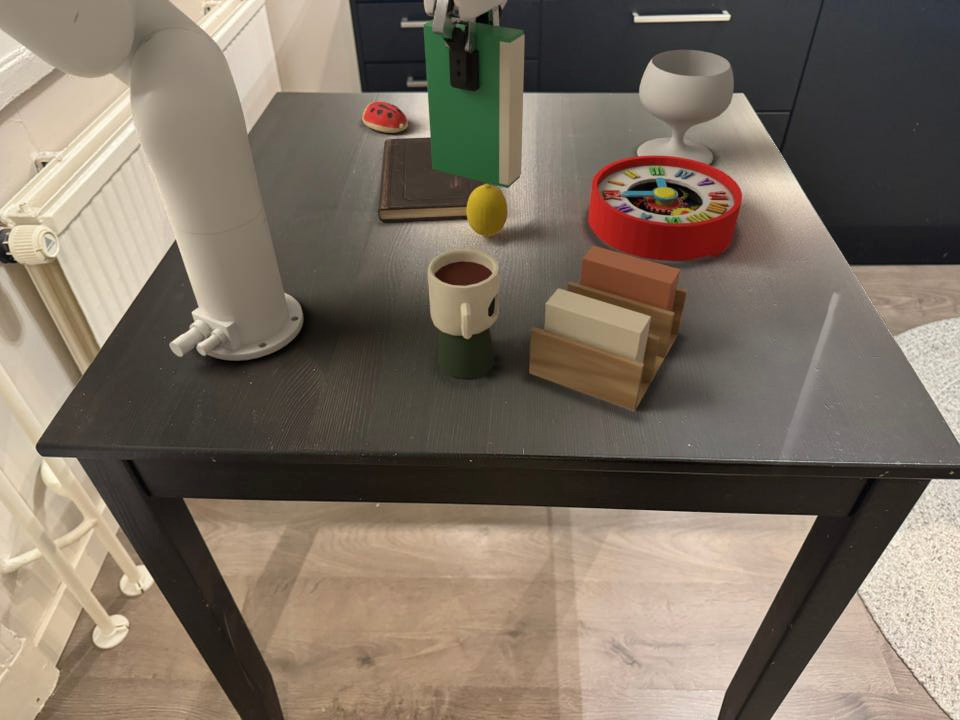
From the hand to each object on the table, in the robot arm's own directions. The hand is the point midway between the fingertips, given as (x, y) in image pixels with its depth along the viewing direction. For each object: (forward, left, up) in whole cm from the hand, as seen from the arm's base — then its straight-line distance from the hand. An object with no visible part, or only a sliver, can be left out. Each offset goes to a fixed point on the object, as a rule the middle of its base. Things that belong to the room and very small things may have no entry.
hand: (473, 80), depth 77 cm
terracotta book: (-2, -20, -24) cm, 32 cm away
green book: (0, 0, -11) cm, 11 cm away
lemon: (+9, +4, -25) cm, 27 cm away
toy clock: (+23, -16, -25) cm, 38 cm away
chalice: (+45, -11, -25) cm, 53 cm away
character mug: (-15, -7, -25) cm, 30 cm away
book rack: (-7, -20, -25) cm, 33 cm away
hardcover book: (+19, +19, -25) cm, 37 cm away
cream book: (-11, -20, -24) cm, 34 cm away
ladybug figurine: (+33, +38, -25) cm, 56 cm away
